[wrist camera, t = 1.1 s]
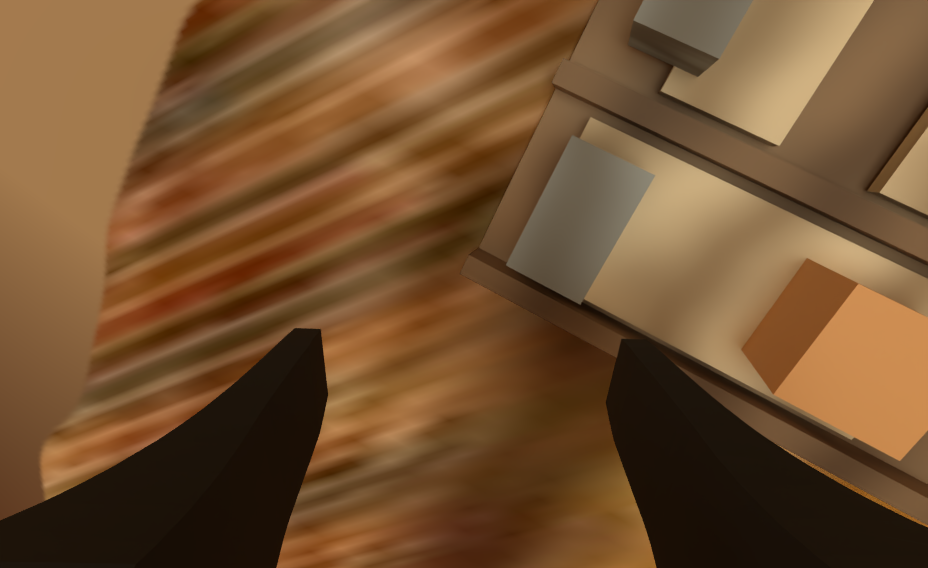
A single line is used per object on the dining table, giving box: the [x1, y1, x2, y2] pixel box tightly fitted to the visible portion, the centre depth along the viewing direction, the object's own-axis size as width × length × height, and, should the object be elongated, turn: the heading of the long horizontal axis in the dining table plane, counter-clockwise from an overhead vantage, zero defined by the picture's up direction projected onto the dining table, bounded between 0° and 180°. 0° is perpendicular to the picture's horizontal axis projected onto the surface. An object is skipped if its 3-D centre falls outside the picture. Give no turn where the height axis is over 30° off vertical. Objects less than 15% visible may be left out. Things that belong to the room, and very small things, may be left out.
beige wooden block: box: [506, 117, 928, 440], centre depth 20 cm, size 16×7×6 cm, turn 65°
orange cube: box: [741, 258, 928, 461], centre depth 19 cm, size 4×4×4 cm
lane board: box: [460, 0, 928, 525], centre depth 19 cm, size 24×19×6 cm
